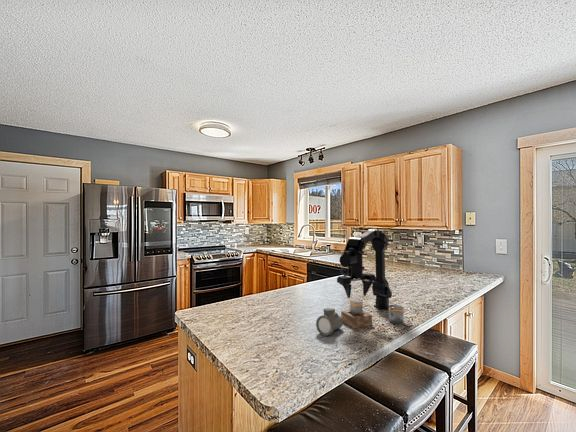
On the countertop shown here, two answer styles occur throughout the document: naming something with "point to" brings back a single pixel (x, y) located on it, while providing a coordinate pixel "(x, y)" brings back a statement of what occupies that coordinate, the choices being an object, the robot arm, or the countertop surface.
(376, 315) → the countertop surface
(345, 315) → the block
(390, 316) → the cylinder
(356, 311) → the square bit
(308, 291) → the countertop surface
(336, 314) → the pipe fitting
